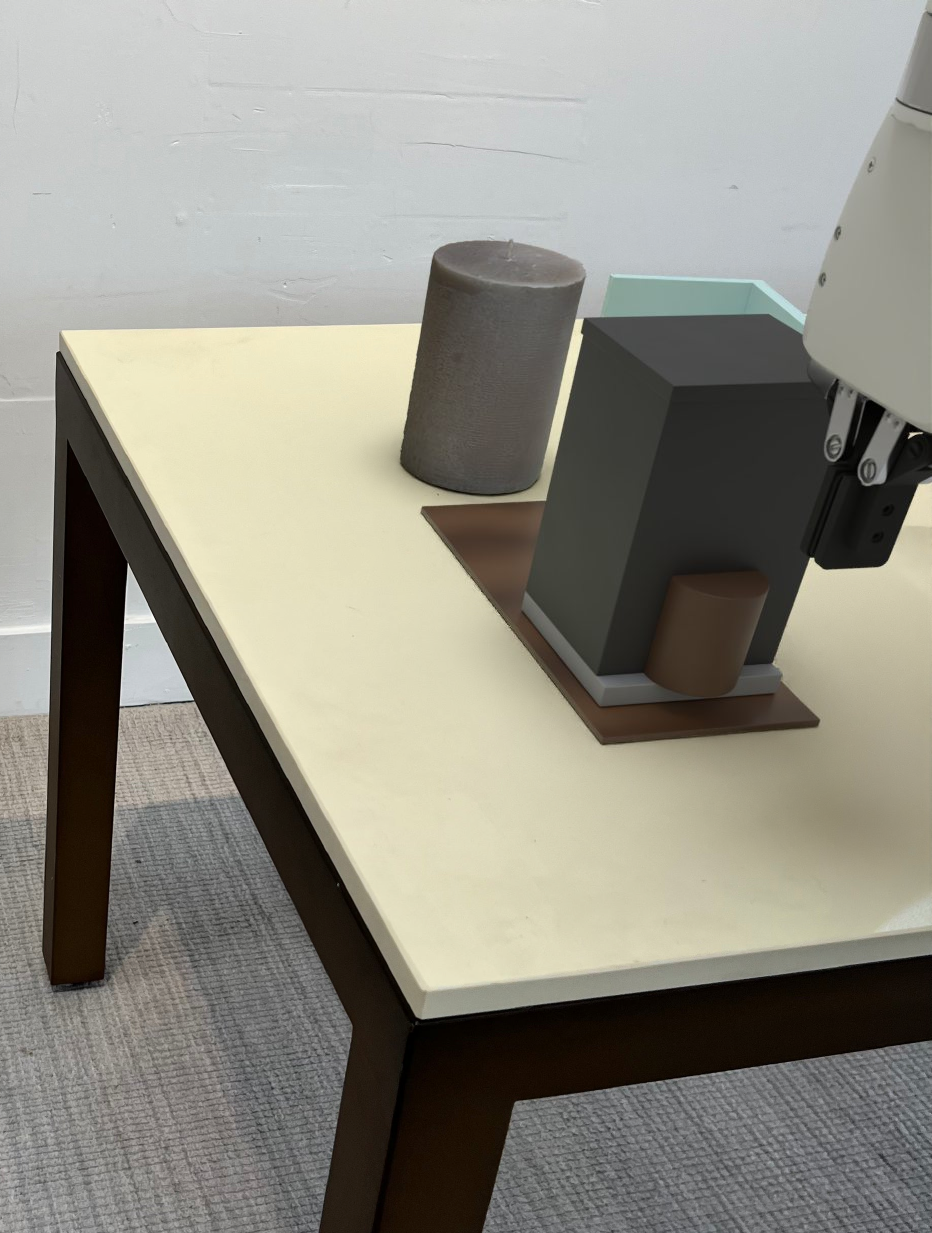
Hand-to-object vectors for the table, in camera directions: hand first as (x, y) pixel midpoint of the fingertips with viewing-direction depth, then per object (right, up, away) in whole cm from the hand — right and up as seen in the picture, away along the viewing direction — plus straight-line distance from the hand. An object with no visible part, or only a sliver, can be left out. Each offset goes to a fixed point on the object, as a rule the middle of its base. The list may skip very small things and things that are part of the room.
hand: (841, 558), depth 59 cm
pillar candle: (-8, +12, +37) cm, 39 cm away
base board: (-4, 0, +21) cm, 22 cm away
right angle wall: (+12, +19, +49) cm, 54 cm away
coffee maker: (-3, -3, +17) cm, 17 cm away
